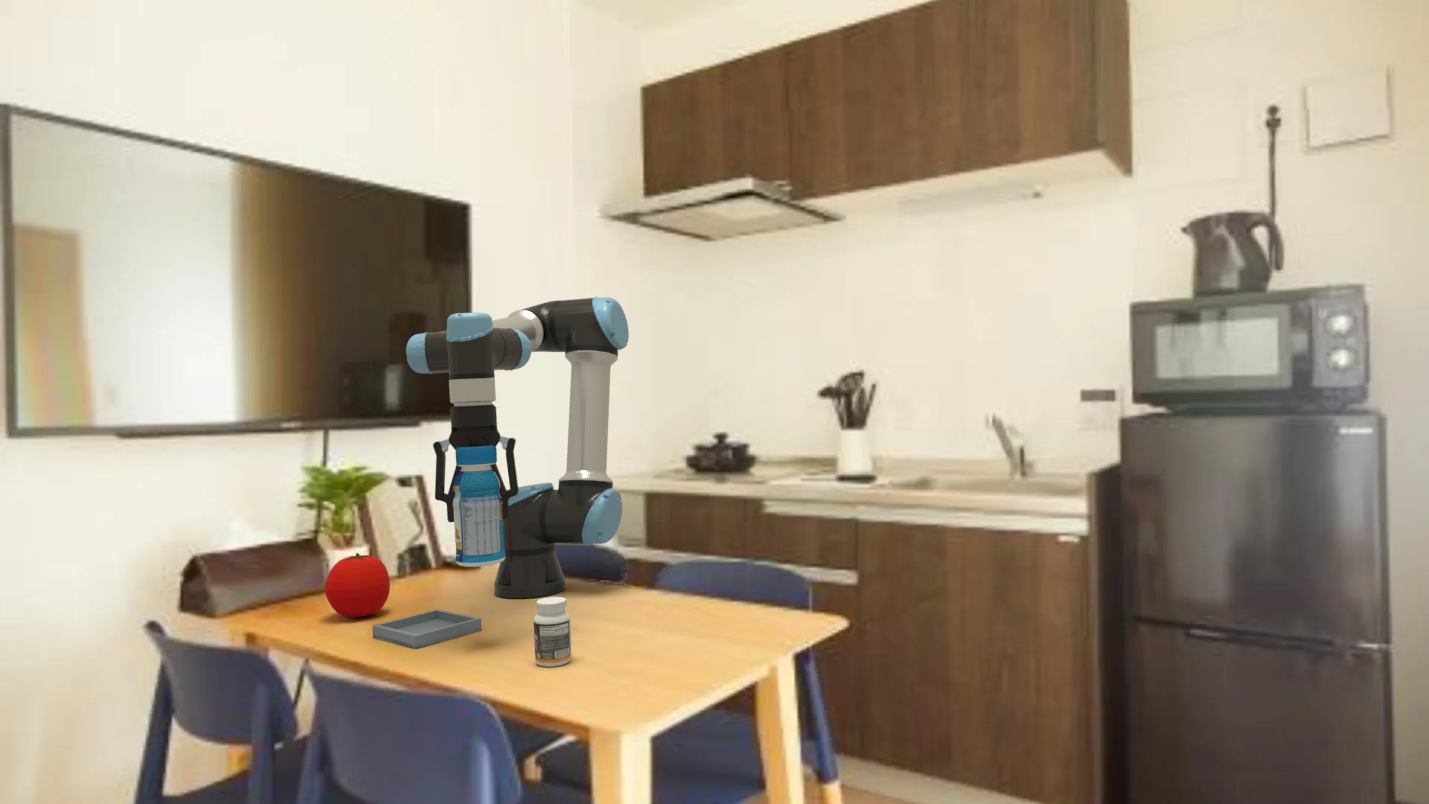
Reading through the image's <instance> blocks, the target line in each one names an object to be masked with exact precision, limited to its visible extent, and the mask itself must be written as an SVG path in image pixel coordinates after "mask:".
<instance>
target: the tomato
mask: <svg viewBox="0 0 1429 804" xmlns="http://www.w3.org/2000/svg"><path fill="white" fill-rule="evenodd" d="M382 561H383V560H382ZM382 561H381V559H379V558H378V557H377V556H376V557H375V556H374V555H372V554H371V555H368V554H363V555H362V554H360V553H359V552H356V553H355V555H348V556H346V557H345V556H344V557H342V559H340V560H338V561H337V562H336V563H335V564H334V565H333V566H332V568H331V569H330V571H329V572H328V574H327V577H326V579H325V583H324V592H325V597H326V599H327V601H328V603H329V605H330V607H331V608H332V609H333V610H334V611H335V612H336V613H337V614H338V615H340V616H342V617H344V618H348V619H355V618H363V617H367V616H371V615H374V614H376V613H377V612H379V611H380V610H381V609H383V607H384V606H385V605H386V602H387V600H388V598H389V595H390V589H391V583H390V582H391V581H390V575H389V572H388V569H387V567H386V566H385V564H384V562H382Z"/></svg>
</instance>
